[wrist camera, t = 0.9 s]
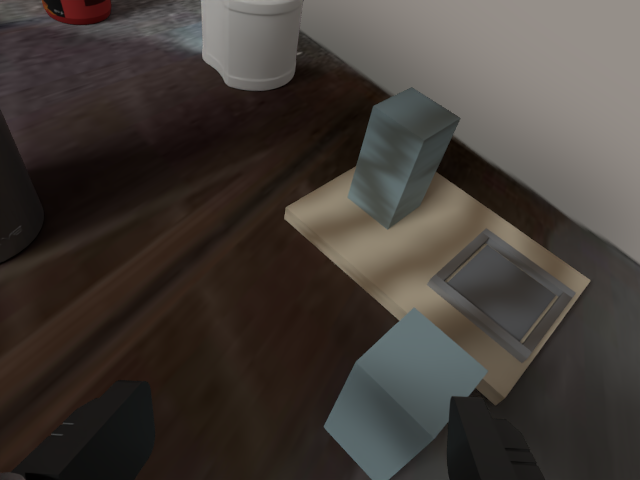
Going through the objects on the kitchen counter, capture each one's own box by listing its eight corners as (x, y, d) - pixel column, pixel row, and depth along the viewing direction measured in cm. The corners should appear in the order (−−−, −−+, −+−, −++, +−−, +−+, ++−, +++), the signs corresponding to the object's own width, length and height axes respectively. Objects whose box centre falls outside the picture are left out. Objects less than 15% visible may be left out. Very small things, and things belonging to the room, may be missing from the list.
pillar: (323, 427, 31) (355, 362, 23) (371, 379, 33) (414, 307, 26) (379, 487, 29) (434, 438, 21) (425, 432, 31) (488, 371, 24)
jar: (306, 81, 57) (326, -53, 46) (239, 98, 53) (242, -46, 42) (258, 37, 63) (265, -93, 51) (193, 49, 58) (185, -91, 47)
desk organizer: (284, 218, 42) (299, 112, 33) (391, 154, 51) (425, 56, 42) (495, 405, 33) (590, 328, 25) (580, 289, 42) (673, 202, 33)
